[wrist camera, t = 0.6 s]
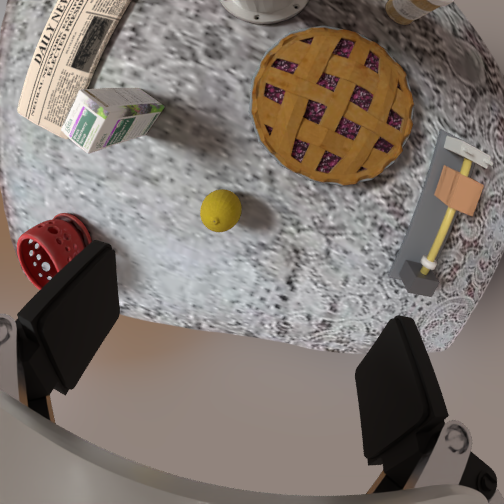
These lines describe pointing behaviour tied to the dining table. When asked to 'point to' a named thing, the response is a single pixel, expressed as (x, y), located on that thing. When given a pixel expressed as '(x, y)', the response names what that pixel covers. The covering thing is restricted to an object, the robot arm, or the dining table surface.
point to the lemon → (220, 210)
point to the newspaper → (67, 58)
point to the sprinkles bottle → (412, 9)
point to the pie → (331, 105)
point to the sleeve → (458, 191)
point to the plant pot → (51, 246)
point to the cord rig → (433, 217)
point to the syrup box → (109, 117)
